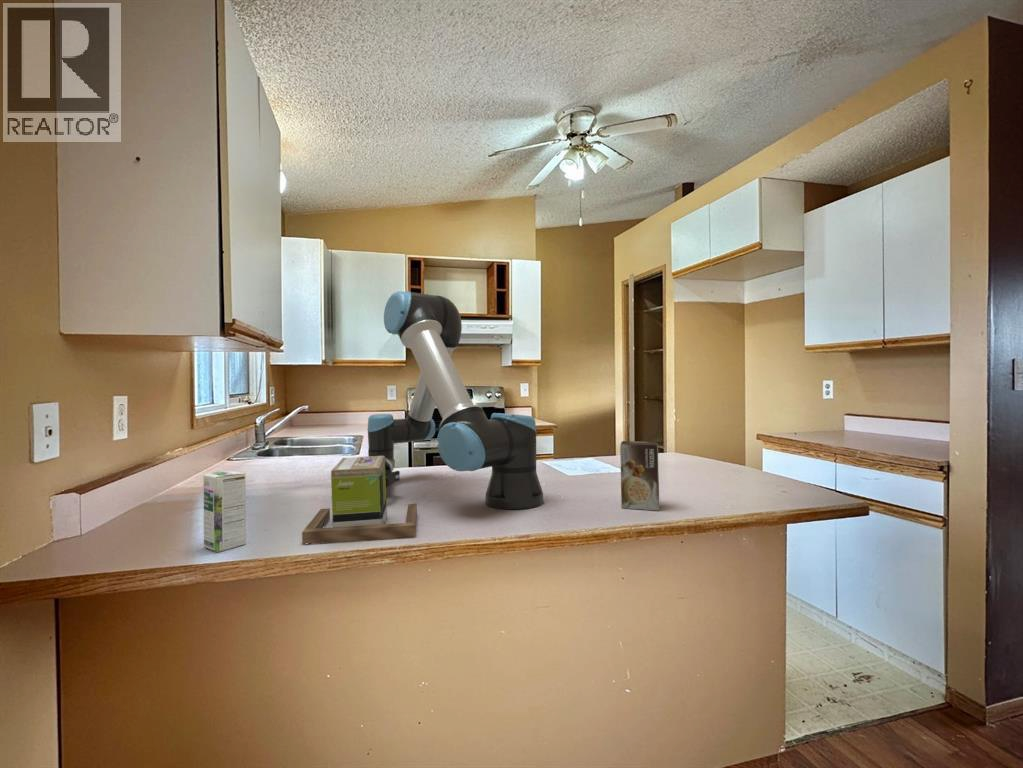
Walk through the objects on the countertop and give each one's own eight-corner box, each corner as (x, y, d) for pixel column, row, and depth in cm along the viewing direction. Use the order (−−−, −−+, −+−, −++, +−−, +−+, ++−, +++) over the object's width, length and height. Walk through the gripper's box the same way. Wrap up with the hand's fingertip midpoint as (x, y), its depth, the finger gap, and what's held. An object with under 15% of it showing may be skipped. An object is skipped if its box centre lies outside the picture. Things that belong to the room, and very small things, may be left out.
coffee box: (660, 504, 125) (659, 441, 124) (659, 511, 119) (658, 444, 118) (623, 502, 128) (622, 440, 127) (620, 508, 122) (619, 443, 121)
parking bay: (416, 514, 119) (416, 503, 119) (415, 537, 101) (415, 525, 101) (320, 519, 115) (320, 508, 115) (302, 544, 98) (302, 532, 98)
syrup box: (202, 547, 97) (200, 474, 97) (233, 539, 102) (231, 469, 101) (217, 553, 94) (215, 477, 93) (248, 544, 99) (246, 471, 98)
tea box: (343, 519, 115) (342, 456, 115) (387, 516, 117) (386, 454, 117) (331, 540, 100) (330, 468, 100) (382, 537, 102) (381, 465, 102)
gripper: (401, 483, 142) (397, 504, 119) (354, 485, 140) (341, 507, 117) (401, 457, 142) (397, 473, 119) (354, 459, 140) (340, 475, 117)
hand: (369, 490), depth 118 cm, fingers closed
